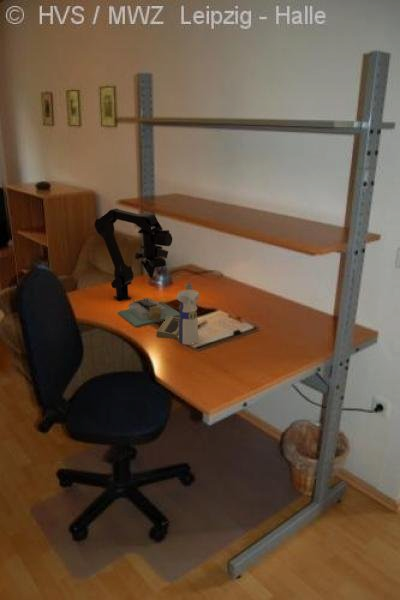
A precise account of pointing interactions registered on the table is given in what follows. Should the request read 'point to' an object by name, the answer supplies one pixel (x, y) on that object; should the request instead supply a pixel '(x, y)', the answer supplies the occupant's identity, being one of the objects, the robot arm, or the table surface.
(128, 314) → the board
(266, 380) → the table surface
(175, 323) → the computer
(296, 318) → the table surface
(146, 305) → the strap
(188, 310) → the water bottle
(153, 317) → the heat sink
